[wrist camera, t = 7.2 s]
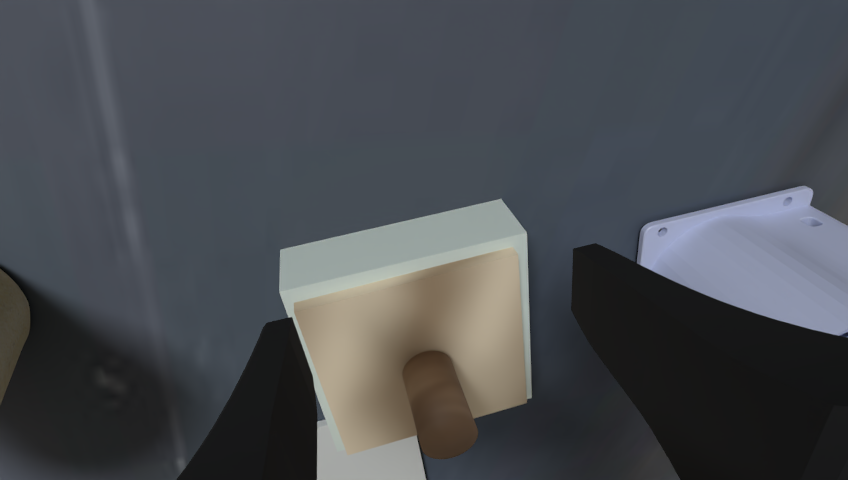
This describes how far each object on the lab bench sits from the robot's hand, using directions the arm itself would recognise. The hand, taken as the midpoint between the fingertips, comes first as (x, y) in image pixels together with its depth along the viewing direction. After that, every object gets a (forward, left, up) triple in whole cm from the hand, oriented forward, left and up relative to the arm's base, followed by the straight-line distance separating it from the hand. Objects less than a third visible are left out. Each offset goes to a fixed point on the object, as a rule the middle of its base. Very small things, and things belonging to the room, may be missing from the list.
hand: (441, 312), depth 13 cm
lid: (0, +8, -7) cm, 11 cm away
